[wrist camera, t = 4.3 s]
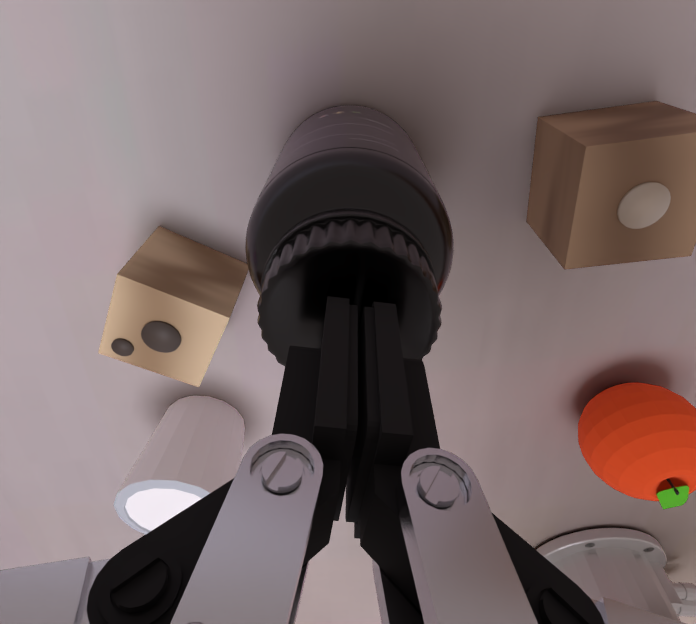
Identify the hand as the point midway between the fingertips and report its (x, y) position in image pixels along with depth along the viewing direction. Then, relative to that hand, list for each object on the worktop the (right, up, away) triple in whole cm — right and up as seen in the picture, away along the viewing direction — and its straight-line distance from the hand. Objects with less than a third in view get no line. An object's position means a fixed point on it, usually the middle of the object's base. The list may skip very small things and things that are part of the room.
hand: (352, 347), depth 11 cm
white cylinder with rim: (-10, -7, +21) cm, 24 cm away
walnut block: (+11, +8, +10) cm, 17 cm away
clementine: (+18, -5, +19) cm, 27 cm away
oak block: (-9, +3, +14) cm, 16 cm away
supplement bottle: (0, +8, +10) cm, 13 cm away
